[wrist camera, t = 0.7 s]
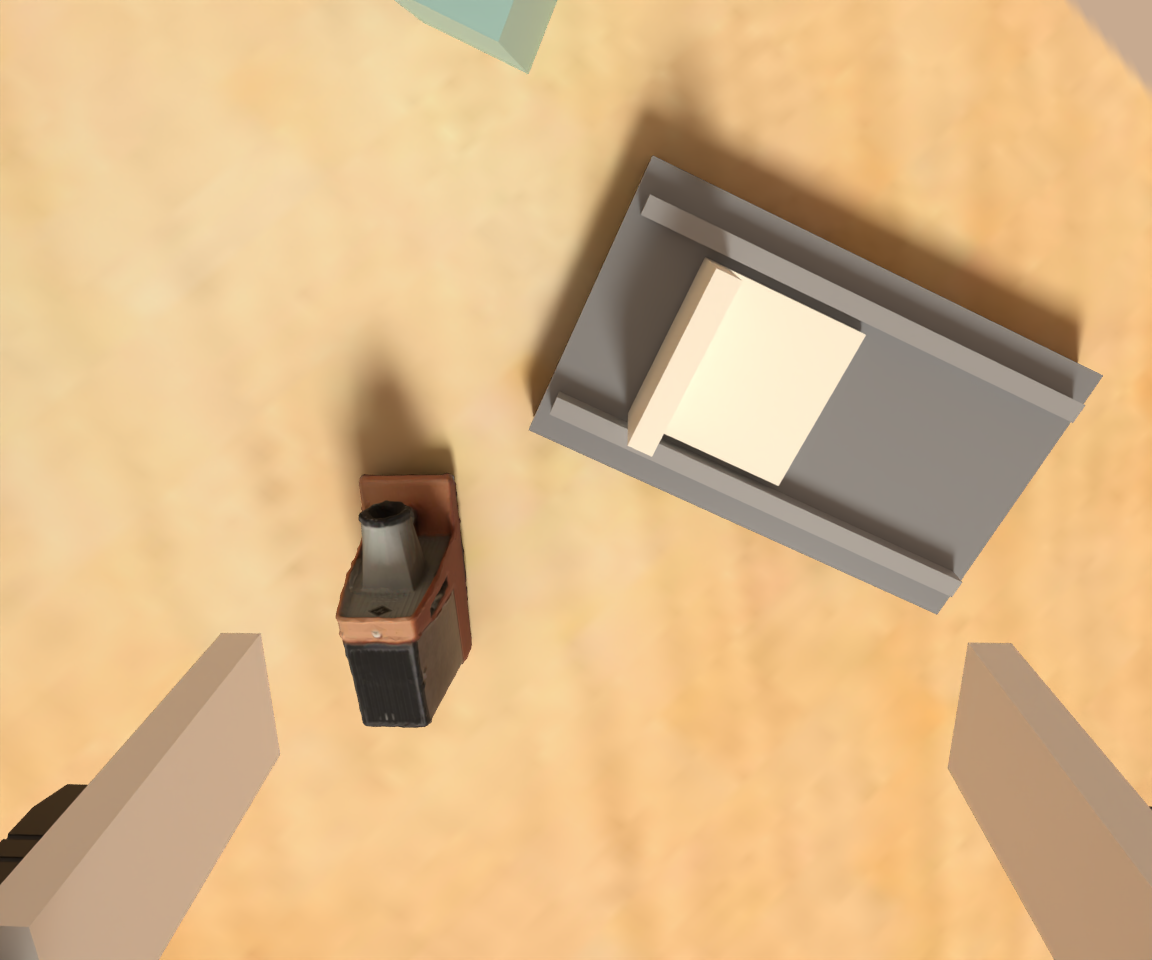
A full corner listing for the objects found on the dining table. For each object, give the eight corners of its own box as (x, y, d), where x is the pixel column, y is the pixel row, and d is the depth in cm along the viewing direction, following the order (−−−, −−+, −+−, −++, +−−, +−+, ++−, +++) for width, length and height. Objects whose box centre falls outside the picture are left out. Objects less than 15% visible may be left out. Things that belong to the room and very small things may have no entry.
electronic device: (458, 465, 39) (419, 529, 32) (477, 646, 42) (445, 742, 35) (365, 467, 39) (305, 532, 32) (390, 647, 42) (341, 742, 35)
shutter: (627, 413, 35) (627, 445, 31) (705, 256, 33) (716, 268, 29) (776, 481, 36) (796, 522, 31) (862, 332, 33) (896, 354, 29)
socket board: (533, 417, 38) (525, 436, 35) (651, 157, 34) (653, 154, 31) (922, 593, 39) (944, 625, 37) (1078, 365, 35) (1116, 381, 33)
